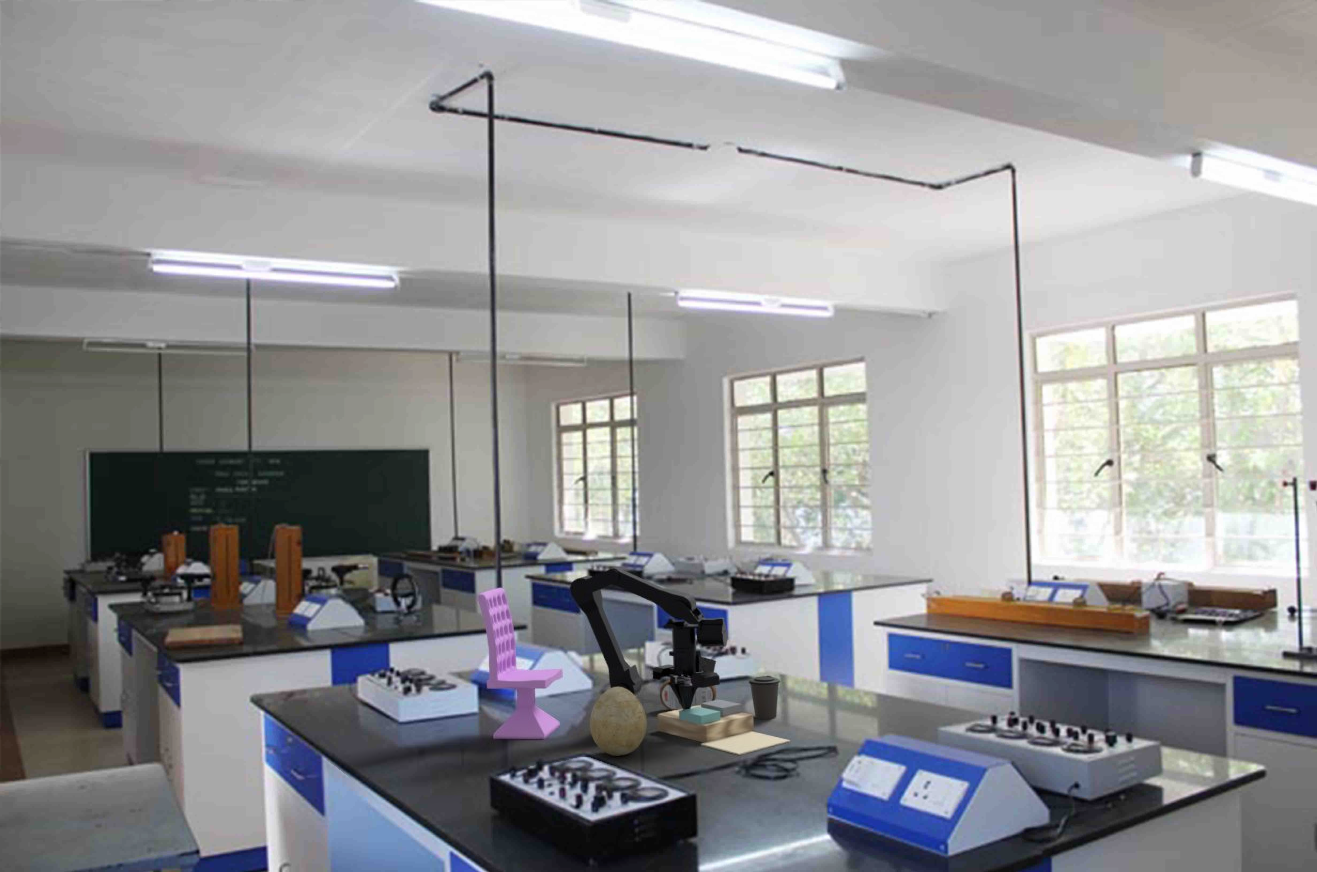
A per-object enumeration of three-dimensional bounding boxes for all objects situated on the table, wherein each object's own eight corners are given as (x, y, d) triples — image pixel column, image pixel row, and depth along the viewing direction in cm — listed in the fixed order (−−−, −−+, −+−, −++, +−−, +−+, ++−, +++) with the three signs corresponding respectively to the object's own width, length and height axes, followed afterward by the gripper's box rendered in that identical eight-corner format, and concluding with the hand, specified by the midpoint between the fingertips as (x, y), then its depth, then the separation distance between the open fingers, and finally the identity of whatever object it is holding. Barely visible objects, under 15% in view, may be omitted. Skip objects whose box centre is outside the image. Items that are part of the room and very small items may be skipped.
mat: (739, 754, 228) (739, 753, 228) (701, 744, 238) (701, 743, 238) (790, 741, 238) (790, 740, 238) (751, 732, 248) (751, 731, 248)
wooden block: (707, 743, 239) (706, 725, 239) (658, 730, 253) (657, 713, 253) (753, 731, 248) (753, 714, 249) (704, 719, 262) (703, 703, 263)
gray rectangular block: (723, 716, 248) (723, 707, 248) (701, 711, 254) (701, 703, 254) (741, 712, 252) (741, 703, 252) (719, 707, 258) (719, 699, 258)
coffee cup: (781, 712, 267) (779, 673, 268) (782, 720, 259) (780, 679, 260) (749, 713, 268) (748, 674, 268) (749, 720, 260) (748, 680, 260)
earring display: (547, 739, 248) (542, 592, 249) (478, 739, 251) (474, 594, 253) (564, 725, 262) (559, 586, 264) (499, 724, 265) (495, 587, 267)
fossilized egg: (584, 751, 236) (581, 685, 236) (636, 744, 240) (634, 679, 241) (600, 765, 224) (598, 694, 224) (655, 757, 228) (653, 688, 229)
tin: (716, 708, 276) (715, 676, 276) (716, 710, 273) (715, 678, 273) (660, 709, 277) (659, 677, 278) (659, 711, 274) (658, 679, 274)
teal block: (701, 724, 241) (701, 715, 241) (679, 719, 247) (679, 710, 247) (720, 719, 244) (720, 711, 244) (698, 714, 250) (697, 706, 251)
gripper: (735, 645, 248) (738, 711, 247) (684, 638, 262) (686, 700, 262) (700, 652, 241) (703, 720, 240) (650, 644, 255) (652, 708, 255)
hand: (686, 711), depth 249 cm, fingers closed
